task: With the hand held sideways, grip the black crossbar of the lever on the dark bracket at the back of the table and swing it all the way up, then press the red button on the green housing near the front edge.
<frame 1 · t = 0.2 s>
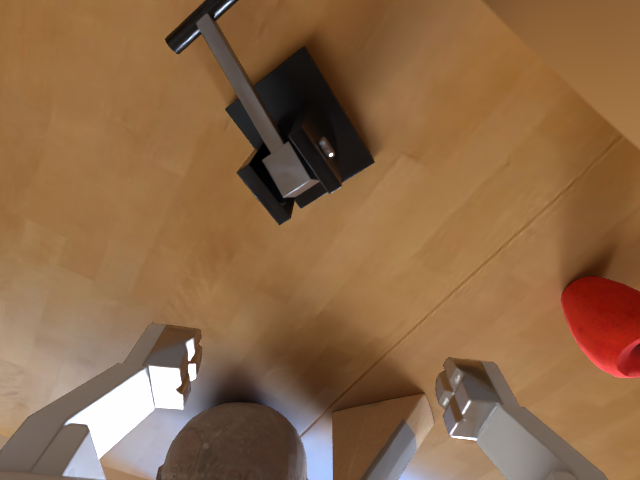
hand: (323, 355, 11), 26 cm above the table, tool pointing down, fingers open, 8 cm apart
apple: (580, 290, 42), on the table
lever: (250, 99, 22), point 10 cm above the table, hinge at -25.0°
sandwich container: (383, 416, 55), on the table
clay pot: (247, 419, 56), on the table
bracket: (303, 133, 33), on the table
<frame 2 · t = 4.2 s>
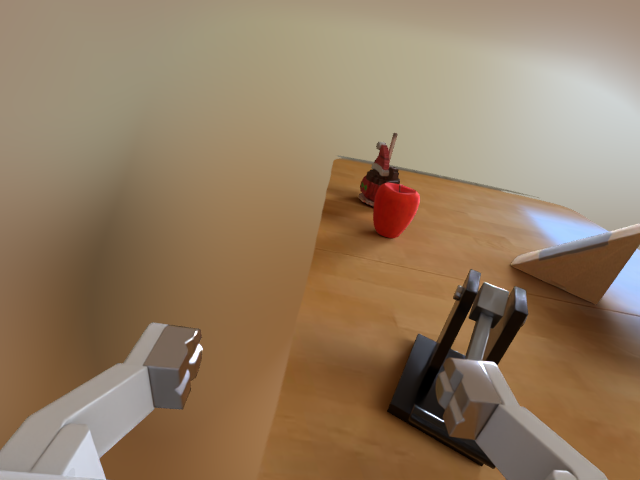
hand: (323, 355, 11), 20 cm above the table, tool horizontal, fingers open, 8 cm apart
apple: (386, 234, 71), on the table
lever: (473, 358, 27), point 10 cm above the table, hinge at -25.0°
cake: (375, 204, 87), on the table
sandwich container: (553, 278, 67), on the table
bracket: (442, 392, 36), on the table
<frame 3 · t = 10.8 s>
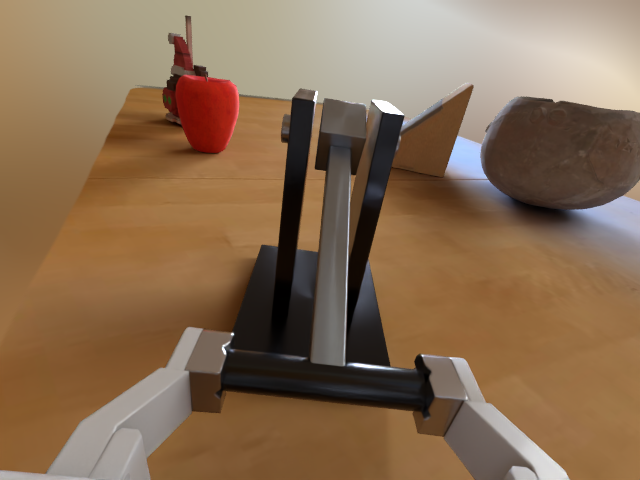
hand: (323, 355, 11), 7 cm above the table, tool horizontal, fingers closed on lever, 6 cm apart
apple: (209, 150, 53), on the table
lever: (335, 219, 14), point 10 cm above the table, hinge at -25.0°, touching gripper
cake: (192, 124, 66), on the table
sandwich container: (400, 163, 63), on the table
clay pot: (532, 201, 54), on the table
bracket: (310, 311, 23), on the table
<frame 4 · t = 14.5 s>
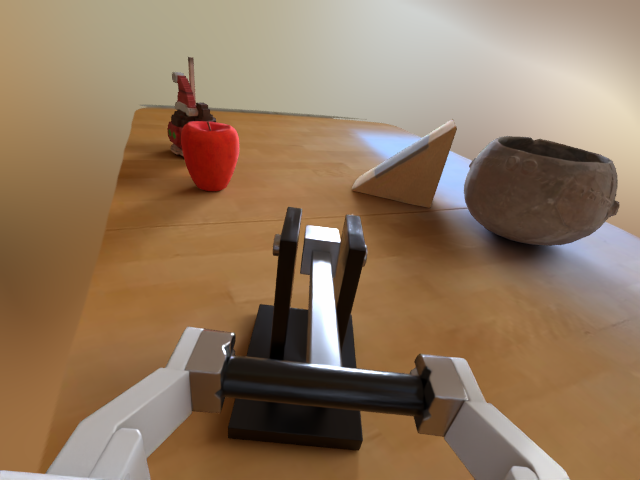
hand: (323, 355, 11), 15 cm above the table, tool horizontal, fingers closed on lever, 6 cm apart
apple: (212, 187, 57), on the table
lever: (321, 290, 16), point 13 cm above the table, hinge at 12.0°, touching gripper
cake: (195, 154, 70), on the table
sandwich container: (391, 192, 67), on the table
clay pot: (512, 233, 58), on the table
bracket: (300, 370, 28), on the table
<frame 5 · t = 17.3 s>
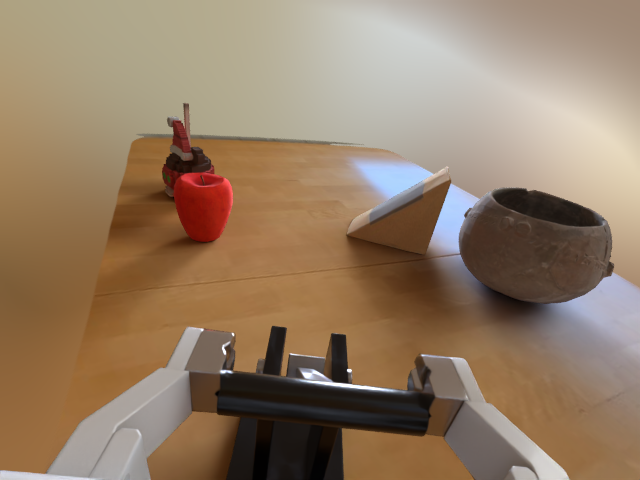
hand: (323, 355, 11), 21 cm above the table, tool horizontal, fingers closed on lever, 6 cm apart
apple: (205, 236, 57), on the table
lever: (309, 383, 16), point 16 cm above the table, hinge at 48.6°, touching gripper
cake: (190, 194, 70), on the table
sandwich container: (386, 236, 67), on the table
clay pot: (507, 284, 58), on the table
bracket: (286, 472, 27), on the table
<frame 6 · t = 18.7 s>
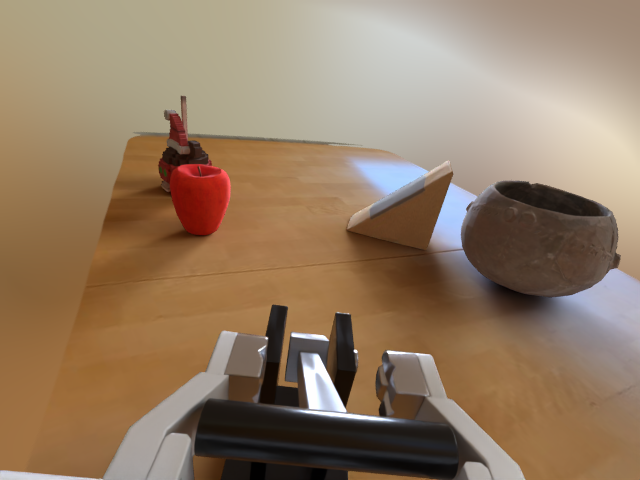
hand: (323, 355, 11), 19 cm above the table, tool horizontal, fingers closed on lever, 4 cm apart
apple: (202, 230, 55), on the table
lever: (311, 378, 14), point 16 cm above the table, hinge at 39.2°, touching gripper
cake: (187, 190, 69), on the table
sandwich container: (386, 232, 65), on the table
clay pot: (510, 278, 56), on the table
bracket: (286, 466, 25), on the table
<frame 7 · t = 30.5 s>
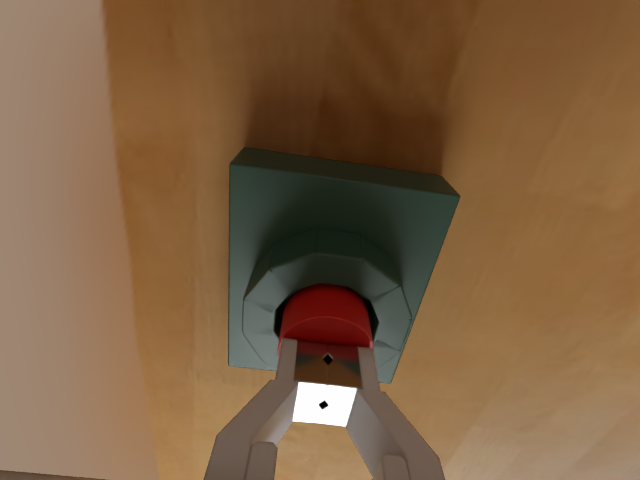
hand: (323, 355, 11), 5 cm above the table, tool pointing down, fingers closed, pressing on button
button box: (325, 265, 16), on the table
button: (325, 334, 12), point 4 cm above the table, slide at 0.0 cm, touching gripper
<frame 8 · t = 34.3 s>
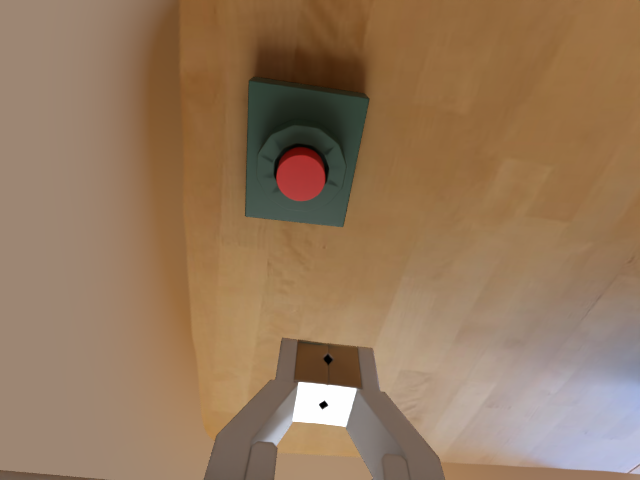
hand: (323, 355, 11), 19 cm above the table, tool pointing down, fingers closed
button box: (302, 153, 26), on the table
button: (301, 174, 22), point 4 cm above the table, slide at 0.1 cm
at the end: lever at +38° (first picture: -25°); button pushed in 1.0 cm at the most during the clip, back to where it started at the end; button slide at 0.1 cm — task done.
